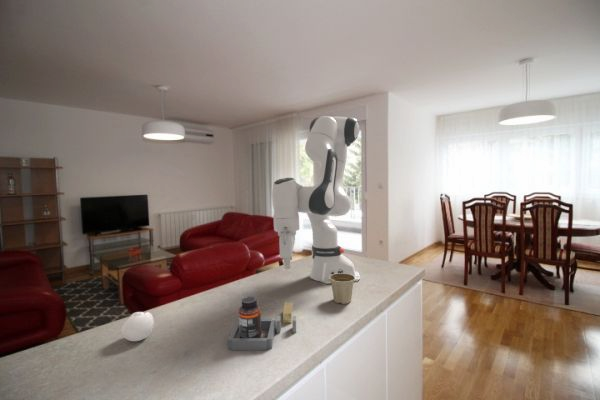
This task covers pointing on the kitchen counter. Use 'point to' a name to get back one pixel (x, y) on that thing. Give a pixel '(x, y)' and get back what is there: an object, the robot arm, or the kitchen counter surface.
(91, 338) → the kitchen counter surface
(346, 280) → the flower pot
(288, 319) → the bar
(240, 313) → the supplement bottle
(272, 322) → the dock
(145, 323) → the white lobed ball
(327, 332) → the kitchen counter surface
